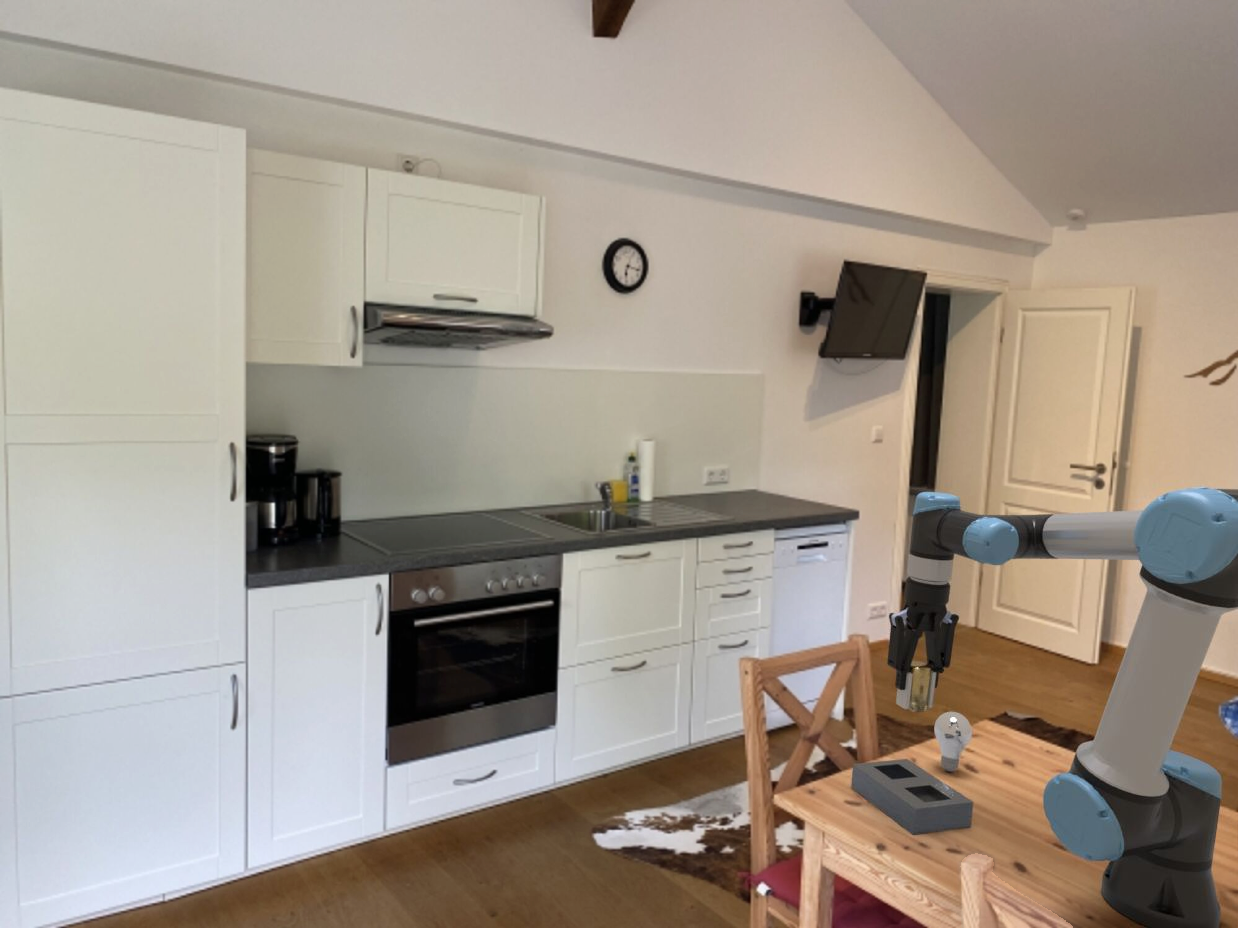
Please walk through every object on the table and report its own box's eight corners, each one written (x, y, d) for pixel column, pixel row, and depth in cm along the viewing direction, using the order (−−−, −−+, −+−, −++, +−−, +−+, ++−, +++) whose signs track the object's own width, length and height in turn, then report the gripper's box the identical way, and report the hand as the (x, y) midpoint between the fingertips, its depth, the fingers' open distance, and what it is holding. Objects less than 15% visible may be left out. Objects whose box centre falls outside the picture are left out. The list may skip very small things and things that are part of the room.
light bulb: (962, 765, 182) (967, 708, 181) (972, 780, 175) (978, 720, 174) (926, 762, 182) (932, 704, 181) (935, 777, 175) (940, 717, 174)
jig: (970, 826, 156) (973, 801, 155) (913, 834, 152) (915, 808, 151) (904, 781, 173) (906, 758, 172) (851, 787, 168) (853, 763, 168)
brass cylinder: (931, 711, 162) (936, 668, 161) (910, 712, 161) (915, 669, 160) (915, 701, 167) (921, 660, 166) (895, 703, 165) (900, 660, 164)
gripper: (954, 573, 167) (940, 695, 170) (874, 574, 162) (860, 700, 164) (983, 584, 160) (967, 710, 163) (900, 585, 155) (885, 716, 157)
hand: (914, 705), depth 164 cm, fingers closed on brass cylinder, 4 cm apart
